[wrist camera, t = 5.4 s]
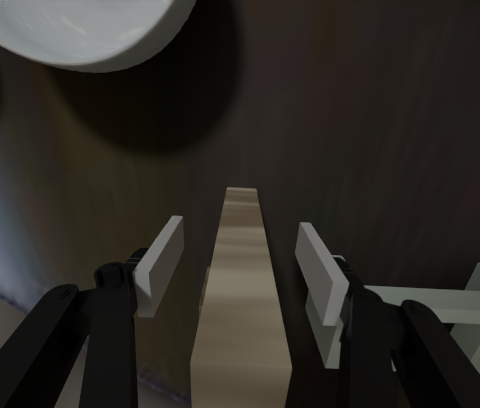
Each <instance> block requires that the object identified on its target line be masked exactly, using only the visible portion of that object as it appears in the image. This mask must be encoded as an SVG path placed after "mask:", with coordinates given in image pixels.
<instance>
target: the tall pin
mask: <svg viewBox="0 0 480 408" xmlns="http://www.w3.org/2000/svg"><path fill="white" fill-rule="evenodd" d="M190 366H191V394H192V408H284V407H285V402H286V397H287V392H288V387H289V382H290V377H291V372H292V364H291V359H290V354H289V349H288V344H287V339H286V334H285V329H284V324H283V319H282V314H281V309H280V304H279V299H278V294H277V290H276V285H275V280H274V275H273V270H272V265H271V260H270V255H269V250H268V245H267V240H266V235H265V230H264V225H263V220H262V215H261V210H260V205H259V200H258V195H257V190H256V189H248V188H229V187H227V191H226V196H225V201H224V206H223V210H222V215H221V220H220V225H219V229H218V234H217V239H216V244H215V248H214V253H213V258H212V263H211V267H210V272H209V277H208V282H207V287H206V291H205V296H204V301H203V306H202V310H201V315H200V320H199V325H198V329H197V334H196V339H195V344H194V348H193V353H192V358H191V363H190Z"/></svg>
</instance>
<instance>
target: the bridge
mask: <svg viewBox="0 0 480 408" xmlns="http://www.w3.org/2000/svg"><path fill="white" fill-rule="evenodd" d="M331 256H332V257H340V258H342V259H343V260H344V258H343V257H342V256H337V255H331ZM344 261H345V260H344ZM354 274H355V273H354ZM364 287H365V288H367V289H370V290H372V291H374V292H375V293H377V294H378V295H379V296H380V297H381V298H382V300H383V301H384V302H387V303H390V304H394V305H398V306H401V303H402V301H403V300H406V299H409V300H415V301H418V302H421V303H423V304H424V305H426V306H427V307H429V308H430V309H431V310H432V311H433V312H434V313H435V314H436V315H437V317H438V318H439V319H440V321H441V322H443V323H455V325H454V327H453V328H452V330H451V332H450V334H451V336H452V337H453V338H454V340H455V341H456V342H457V344H458V345H459V347H460V348H461V349H462V351H463V352H464V353H465V355H466V356H467V357H468V359H469V360H470V361H471V363H472V364H473V366H474V367H475V368H476V370H477V371H478V372H479V374H480V263H478V264H477V266H476V268H475V270H474V272H473V274H472V276H471V277H470V279H469V281H468V283H467V285H466V287H465V289H464V290H444V289H423V288H403V287H382V286H364ZM305 309H306V312H307V315H308V318H309V321H310V324H311V327H312V330H313V333H314V336H315V339H316V342H317V345H318V348H319V351H320V354H321V357H322V360H323V363H324V366H325V368H334V369H339V359H340V347H341V343H340V342H339V339H340V335H341V332H342V328H343V325H344V324H343V322H342V320H341V318H340V319H339V322H338V326H327V325H323V324H322V322H321V319H320V317H319V314H318V312H317V309H316V306H315V304H314V301H313V299H312V296H311V294H310V291H308V296H307V301H306V306H305ZM391 360H392V359H391ZM392 367H393V371H396V369H395V367H394V364H393V362H392Z"/></svg>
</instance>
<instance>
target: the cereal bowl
mask: <svg viewBox="0 0 480 408" xmlns="http://www.w3.org/2000/svg"><path fill="white" fill-rule="evenodd" d="M195 2H196V0H0V46H2V47H4V48H5V49H7V50H9V51H11V52H13V53H15V54H17V55H20V56H22V57H24V58H27V59H29V60H32V61H35V62H39V63H42V64H45V65H49V66H54V67H57V68H61V69H67V70H70V71H79V72H92V73H99V72H103V73H105V72H111V71H119V70H123V69H127V68H129V67H132V66H135V65H138V64H140V63H143V62H144V61H145V60H148V59H151V57H152V56H154V55H156V54H157V53H158V52H160V51H162V49H163V48H164V47H165V46H167V44H168V43H170V42H171V41H172V39H173V38H174V37H175V36H176V34H177V33H178V32H179V31H180V30H181V28H182V26H183V25H184V23H185V21H186V20H188V17H189V14H190V13H191V11H192V8H193V7H194V5H195Z"/></svg>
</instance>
